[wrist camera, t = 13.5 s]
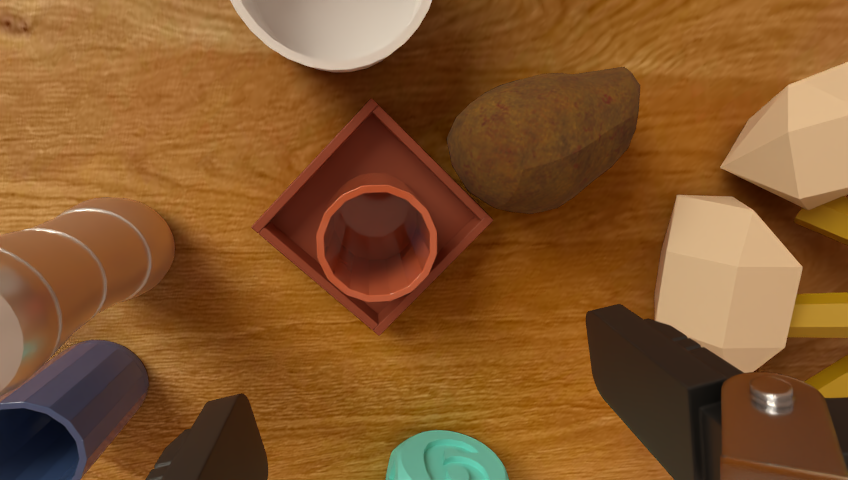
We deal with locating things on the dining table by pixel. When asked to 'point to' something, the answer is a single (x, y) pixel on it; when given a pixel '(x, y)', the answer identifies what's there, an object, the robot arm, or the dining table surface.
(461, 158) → the potato
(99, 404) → the blue cup
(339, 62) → the saucepan
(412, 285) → the terracotta cup
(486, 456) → the decorative dice
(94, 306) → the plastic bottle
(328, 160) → the rust tray
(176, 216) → the dining table surface
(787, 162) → the campfire
